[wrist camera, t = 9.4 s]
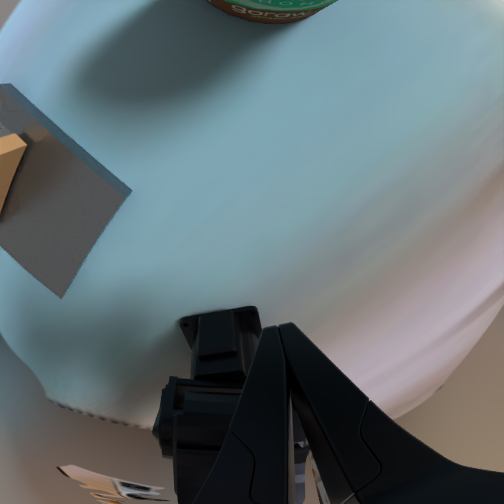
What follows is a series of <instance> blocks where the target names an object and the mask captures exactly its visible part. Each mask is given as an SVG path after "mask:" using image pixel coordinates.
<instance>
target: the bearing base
mask: <svg viewBox="0 0 504 504" xmlns="http://www.w3.org/2000/svg"><path fill="white" fill-rule="evenodd" d="M14 133H15V134H17V135H18V136H19V137H20V138H21V139H22V140H23V141H24V142H25V143H26V144H27V146H26V148H25V151H24V153H23V155H22V157H21V159H20V162H19V164H18V166H17V169H16V171H15V174H14V176H13V179H12V181H11V184H10V187H9V189H8V192H7V195H6V198H5V201H4V204H3V207H2V210H1V213H0V246H1V247H2V248H3V249H4V250H5V251H6V252H8V253H9V254H10V255H11V256H12V257H13V258H14V259H15V260H16V261H17V262H18V263H19V264H20V265H22V266H23V267H24V268H25V269H26V270H27V271H28V272H30V273H31V274H32V275H33V276H34V277H35V278H37V279H38V280H39V281H40V282H41V283H43V284H44V285H45V286H46V287H47V288H49V289H50V290H51V291H52V292H54V293H55V294H56V295H58V296H59V297H60V298H61V299H62V297H63V296H64V294H65V292H66V291H67V289H68V288H69V286H70V284H71V282H72V281H73V279H74V277H75V276H76V274H77V272H78V270H79V269H80V267H81V265H82V264H83V262H84V260H85V259H86V257H87V256H88V254H89V252H90V251H91V249H92V248H93V246H94V245H95V243H96V241H97V240H98V238H99V237H100V235H101V234H102V232H103V231H104V229H105V228H106V226H107V225H108V224H109V222H110V221H111V219H112V218H113V216H114V215H115V214H116V212H117V211H118V209H119V208H120V207H121V205H122V204H123V202H124V201H125V200H126V198H127V197H128V196H129V194H130V193H131V192H132V190H131V189H130V188H129V187H128V186H126V185H125V184H124V183H123V182H122V181H120V180H119V179H118V178H117V177H116V176H115V175H113V174H112V173H111V172H110V171H109V170H107V169H106V168H105V167H104V166H103V165H102V164H100V163H99V162H98V161H97V160H96V159H95V158H93V157H92V156H91V155H90V154H89V153H88V152H86V151H85V150H84V149H83V148H82V147H81V146H79V145H78V144H77V143H76V142H75V141H74V140H73V139H71V138H70V137H69V136H68V135H67V134H66V133H65V132H63V131H62V130H61V129H60V128H59V127H58V126H57V125H56V124H54V123H53V122H52V121H51V120H50V119H49V118H48V117H47V116H46V115H44V114H43V113H42V112H41V111H40V110H39V109H38V108H37V107H36V106H34V105H33V104H32V103H31V102H30V101H29V100H28V99H27V98H26V97H25V96H24V95H22V94H21V93H20V92H19V91H18V90H17V89H16V88H15V87H14V86H13V85H12V84H11V83H9V84H0V138H1V137H4V136H7V135H11V134H14Z"/></svg>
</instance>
